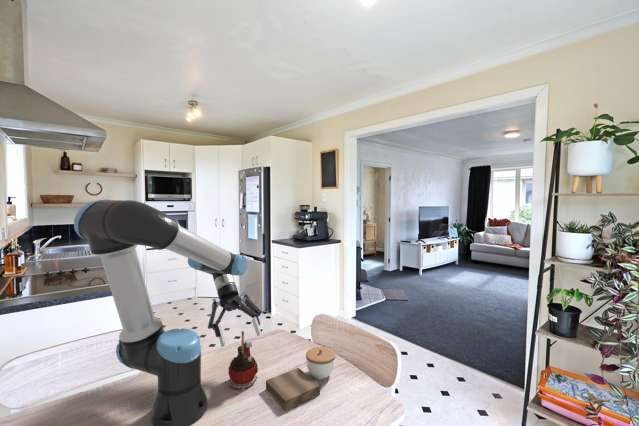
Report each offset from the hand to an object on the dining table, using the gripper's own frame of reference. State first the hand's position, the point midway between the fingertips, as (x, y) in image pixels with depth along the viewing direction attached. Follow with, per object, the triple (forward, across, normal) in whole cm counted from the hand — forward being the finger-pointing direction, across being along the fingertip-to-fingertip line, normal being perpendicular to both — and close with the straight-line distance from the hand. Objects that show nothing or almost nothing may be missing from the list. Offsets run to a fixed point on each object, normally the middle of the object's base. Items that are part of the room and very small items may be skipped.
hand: (242, 339), depth 108 cm
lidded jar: (+21, -23, +2) cm, 31 cm away
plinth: (+23, -10, +4) cm, 25 cm away
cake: (+12, +1, -7) cm, 14 cm away
